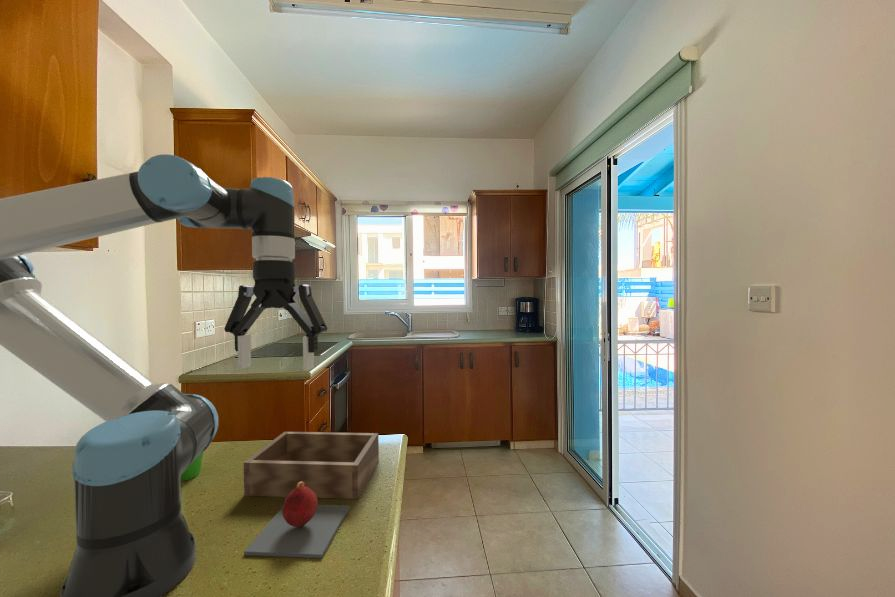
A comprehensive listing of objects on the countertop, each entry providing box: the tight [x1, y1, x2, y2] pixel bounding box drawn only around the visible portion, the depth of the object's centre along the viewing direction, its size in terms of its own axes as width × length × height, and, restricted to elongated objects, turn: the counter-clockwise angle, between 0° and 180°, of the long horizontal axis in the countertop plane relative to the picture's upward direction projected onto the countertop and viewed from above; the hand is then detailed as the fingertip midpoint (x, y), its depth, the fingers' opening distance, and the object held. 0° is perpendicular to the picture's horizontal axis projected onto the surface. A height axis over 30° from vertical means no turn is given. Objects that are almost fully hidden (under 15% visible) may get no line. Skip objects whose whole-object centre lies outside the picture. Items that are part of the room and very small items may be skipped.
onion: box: [282, 481, 318, 527], centre depth 64 cm, size 6×6×8 cm
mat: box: [243, 504, 350, 559], centre depth 64 cm, size 13×13×1 cm
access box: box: [243, 431, 380, 500], centre depth 82 cm, size 24×16×7 cm
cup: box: [180, 452, 204, 482], centre depth 83 cm, size 9×9×11 cm
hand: (276, 368), depth 70 cm, fingers open, 13 cm apart
